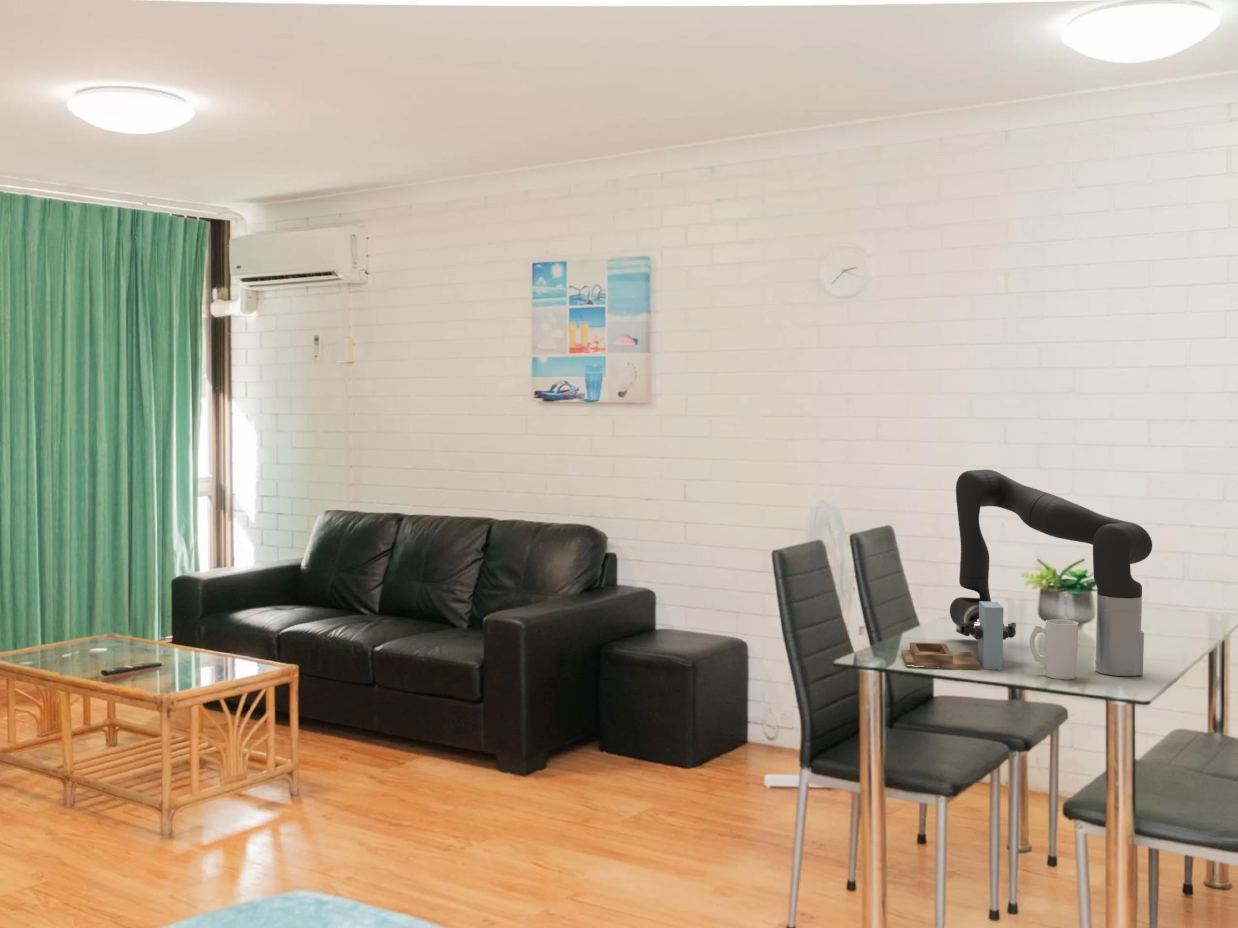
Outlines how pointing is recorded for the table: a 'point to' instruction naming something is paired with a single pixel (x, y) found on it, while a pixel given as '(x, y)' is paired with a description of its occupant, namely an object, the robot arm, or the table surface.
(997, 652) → the door panel
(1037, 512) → the robot arm
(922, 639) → the table surface
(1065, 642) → the mug
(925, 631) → the table surface
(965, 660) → the base
